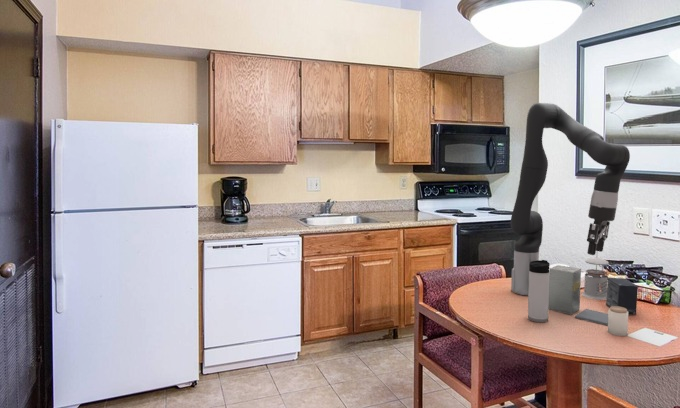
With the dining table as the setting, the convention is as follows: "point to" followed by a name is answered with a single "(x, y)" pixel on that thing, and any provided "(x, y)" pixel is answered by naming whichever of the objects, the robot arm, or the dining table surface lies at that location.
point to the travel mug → (538, 291)
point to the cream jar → (618, 321)
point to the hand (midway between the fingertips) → (594, 252)
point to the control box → (564, 289)
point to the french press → (595, 280)
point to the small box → (622, 294)
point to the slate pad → (593, 316)
